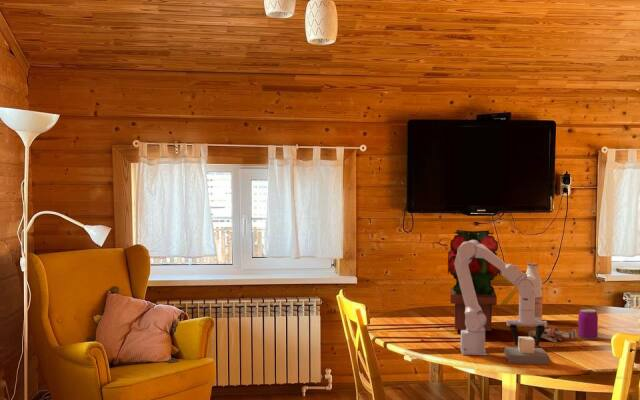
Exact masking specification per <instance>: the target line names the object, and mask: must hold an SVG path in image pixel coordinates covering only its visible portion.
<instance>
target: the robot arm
mask: <svg viewBox="0 0 640 400" xmlns="http://www.w3.org/2000/svg"><path fill="white" fill-rule="evenodd" d="M474 257H475V258H484V259H485V260H487V261H488V262H490V263H491V264H492V265H494V266H495V267H497V268H498V269H500V273H501V276H502V277H503V278H505V279H506V280H508V282H510V283H511V284H512V285H514V286H515V287H517V290H518V291H519V295H518V319H506V326H507V327H509V328H510V332H511V334H512V338H513V341H514V345H515V346H518V333H519V332H518V327H535V329H534V330H536V338H535V339H534V340H535V343H534V346H536V347H539V345H540V341H541V336H542V334H543V332H544V330H545V329H546V328H547V327H548V322H547V320H542V321H539V320H535V291H533V290H534V289H535V288H536V282H535V280H534V279H533V278H532V277H530V276H528V275H527V274H526V273H524V272H523V271H522V270H520V269H519V268H518V266H517V264H514V265H513V264H512V263H506V262H505V261H503V259H502V258H500V257H499V256H498V255H497V256H496V255H495V254H494V253H493V252H491V251H490V250H489V249H488V248H487V247H485V246H484V245H483V244H480V243H479V242H478V241H477V240H470V241H466V242H463V243H462V244H461V245H460V246H459V248H458V249H457V255H456V259H455V262H454V265H455V269H456V273H457V276H458V280H459V284H460V288H461V292H462V296H463V300H464V303H465V307H466V308H465V317H466V319H465V326H466V330H461V333H460V344H459V348H460V349H459V350H460V352H461V355H464V356H488V354H487V351H486V334H485V328H484V325H485V324H486V321H487V319H486V316H485V314H484V313H483V312H482V309H481V307H480V306H479V304H478V301H477V297H476V293H475V289H474V285H473V282H472V278H471V274H470V270H469V266H468V265H469V263H470V262H471V260H472V259H473V258H474Z"/></svg>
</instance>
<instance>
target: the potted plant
mask: <svg viewBox="0 0 640 400" xmlns="http://www.w3.org/2000/svg"><path fill="white" fill-rule="evenodd" d="M454 234H456V235H454V236H453V239H451V240H450V246H449V247H450V251H448V252H447V255H448V256H447V275H449V274H450V276H453V279H454V280H456V282H455V284H454V285H453V287H450V304H454V330H458V332H459V334H461V330H466V326H465V319H466V317H465V308H466V307H465V303H464V300H463V296H462V292H461V288H460V284H459V280H458V276H457V273H456V269H455V265H454V262H455V259H456V255H457V249H458V248H459V246H460V245H461V244H462V243H463V242H466V241H470V240H477V241H478V242H479V243H480V244H483V245H484V246H485V247H487V248H488V249H489V250H490V251H491V252H493V253H494V254H495V255H496V256H497V257H498V255H497V254H498V253H497V251H498V249H499V243H498V241H497V240H496V239H495V237H494V236H493V234H494V232H490V230H489V229H488V230H475V231H474V230H463V229H456V231H455V232H454ZM468 266H469V270H470V274H471V278H472V282H473V285H474V289H475V293H476V297H477V301H478V304H479V306H480V307H481V309H482V312H483V313H484V314H485V316H486V319H487V321H486V324H485V325H484V328H485V335H487V332H492V318H493V312H492V309H493V308H492V306H497V303H498V297H497V294H496V291H495V289H494V286H492V285H491V284H492V283H491V282H492V281H493V280H494V279H495V277H498V274H499V276H501V270H500V269H498V268H497V267H495V266H494V265H492V264H491V263H490V262H488V261H487V260H485V259H484V258H475V257H474V258H473V259H472V260H471V262H470V263H469V265H468Z"/></svg>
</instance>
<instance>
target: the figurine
mask: <svg viewBox="0 0 640 400" xmlns="http://www.w3.org/2000/svg"><path fill="white" fill-rule="evenodd" d="M568 332H569V333H567V332H564V331H560V330H559V329H558V328H557V327H556V328H552V327H550V328H545V330H544V332H543V334H542V336H541V338H542V339H544V340H547V341H549V342H552V343H558V341H563V339H564V338H565V339H569V340H573V339H574V338H577V335H578V333H577V329H576V328H573V329H572V330H570V329H569V331H568ZM527 333H528V337H532V338H533V339H536V329H532V328H531V329H530V330H528V332H527ZM561 337H562V338H563V339H562V338H561ZM541 338H540V339H541Z"/></svg>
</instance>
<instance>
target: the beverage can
mask: <svg viewBox="0 0 640 400" xmlns="http://www.w3.org/2000/svg"><path fill="white" fill-rule="evenodd" d="M598 316H599V314H598V312H597V311H596V310H595V309H593V308H581V309H580V310H579V313H578V321H577V323H578V325H577V326H578V328H577V329H578V330H577V332H578V333H577V335H578V336H579V338H580V339H583V340H589V341H590V340H591V341H592V340H596V339H597V338H598V335H599V334H598V330H599V328H598V327H599V326H598V325H599V323H598V321H599V317H598Z"/></svg>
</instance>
